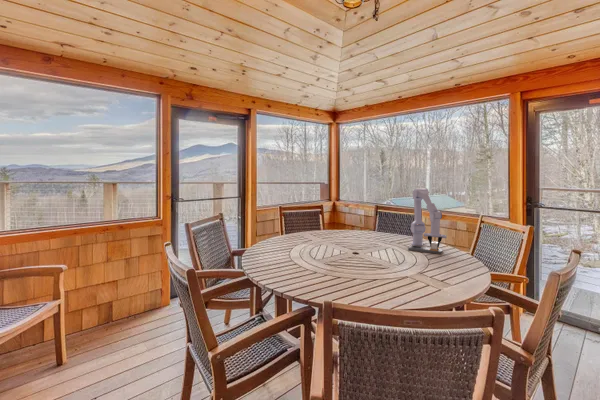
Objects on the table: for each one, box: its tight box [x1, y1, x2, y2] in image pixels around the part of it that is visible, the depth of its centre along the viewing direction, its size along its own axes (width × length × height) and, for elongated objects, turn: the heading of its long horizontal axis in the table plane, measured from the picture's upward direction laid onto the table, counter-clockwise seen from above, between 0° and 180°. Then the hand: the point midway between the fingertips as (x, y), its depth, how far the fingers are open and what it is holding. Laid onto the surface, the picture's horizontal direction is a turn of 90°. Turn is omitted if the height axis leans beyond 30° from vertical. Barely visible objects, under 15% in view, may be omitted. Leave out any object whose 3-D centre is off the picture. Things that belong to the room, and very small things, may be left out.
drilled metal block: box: [431, 241, 438, 250], centre depth 214 cm, size 4×4×7 cm
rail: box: [407, 244, 444, 255], centre depth 217 cm, size 8×22×2 cm, turn 60°
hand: (434, 247), depth 214 cm, fingers closed on drilled metal block, 4 cm apart
